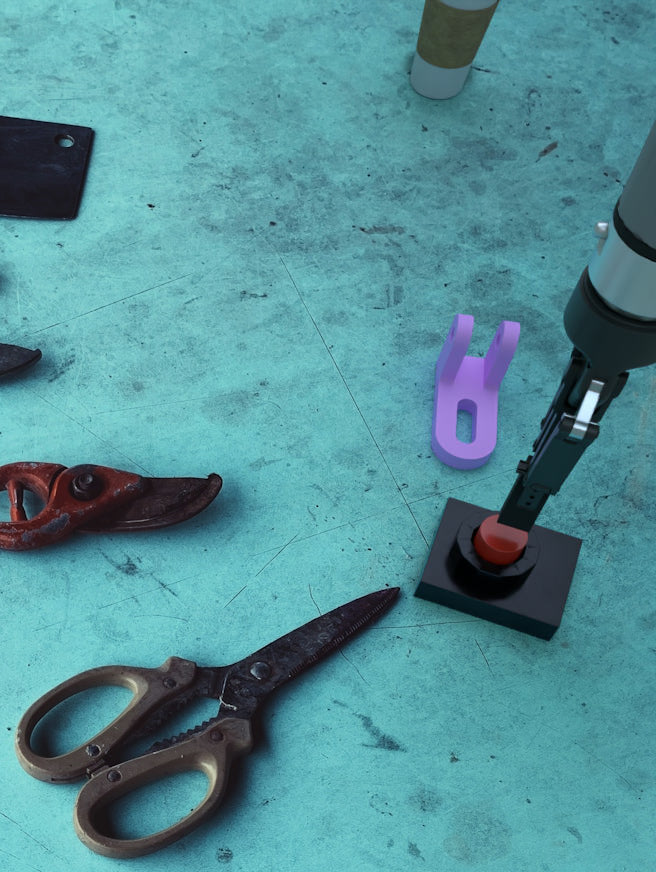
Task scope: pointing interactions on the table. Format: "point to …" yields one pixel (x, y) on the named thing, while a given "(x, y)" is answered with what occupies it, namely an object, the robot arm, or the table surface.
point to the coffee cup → (448, 44)
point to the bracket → (469, 392)
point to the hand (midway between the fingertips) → (514, 520)
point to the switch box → (499, 574)
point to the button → (499, 541)
